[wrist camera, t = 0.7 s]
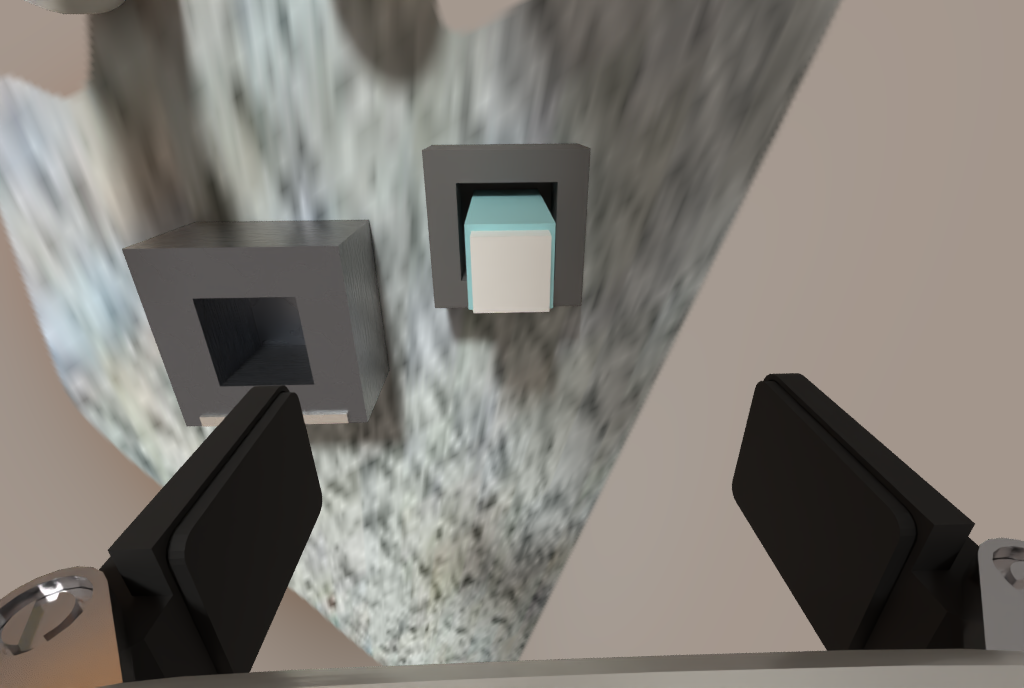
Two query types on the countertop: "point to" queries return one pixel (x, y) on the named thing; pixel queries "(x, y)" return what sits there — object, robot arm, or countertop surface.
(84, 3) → the plastic bottle
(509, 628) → the countertop surface
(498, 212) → the plug
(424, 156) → the grey square socket
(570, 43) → the countertop surface
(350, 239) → the port block
